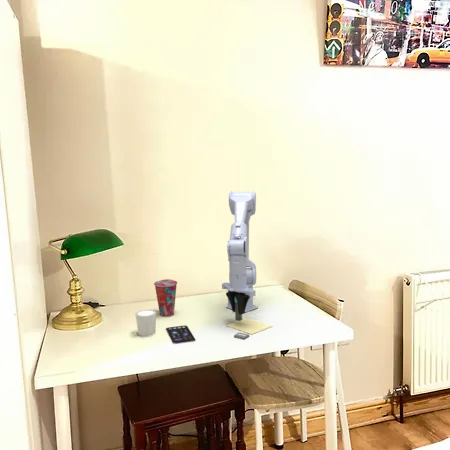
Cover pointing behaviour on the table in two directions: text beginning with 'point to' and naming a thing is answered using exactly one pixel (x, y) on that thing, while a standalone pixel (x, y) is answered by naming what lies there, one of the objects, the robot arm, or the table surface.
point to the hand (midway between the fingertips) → (238, 312)
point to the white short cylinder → (146, 322)
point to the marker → (237, 315)
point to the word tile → (241, 336)
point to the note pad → (249, 326)
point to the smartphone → (180, 334)
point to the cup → (166, 296)
